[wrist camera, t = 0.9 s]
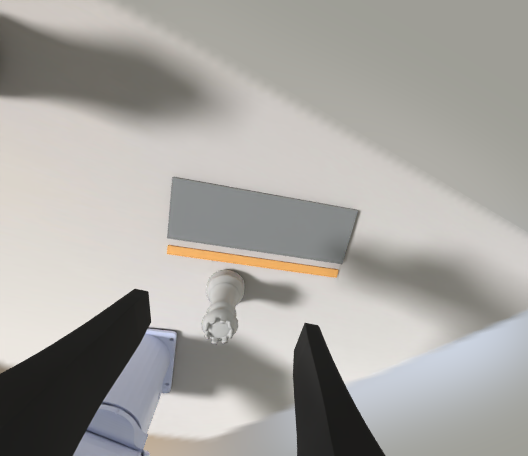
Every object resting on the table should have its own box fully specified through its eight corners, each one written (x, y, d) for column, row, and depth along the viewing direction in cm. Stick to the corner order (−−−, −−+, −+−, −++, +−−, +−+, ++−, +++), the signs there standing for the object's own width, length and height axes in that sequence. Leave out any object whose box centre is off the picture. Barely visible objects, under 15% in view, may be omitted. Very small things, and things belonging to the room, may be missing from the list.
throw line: (335, 276, 28) (336, 277, 28) (167, 253, 26) (167, 254, 25) (337, 269, 28) (338, 270, 28) (168, 245, 25) (167, 245, 25)
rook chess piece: (240, 263, 27) (237, 304, 19) (248, 296, 28) (250, 347, 20) (202, 272, 27) (185, 316, 19) (213, 305, 28) (200, 359, 20)
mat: (340, 262, 28) (342, 264, 27) (169, 236, 25) (167, 238, 25) (355, 209, 26) (358, 210, 25) (174, 176, 23) (172, 177, 23)
